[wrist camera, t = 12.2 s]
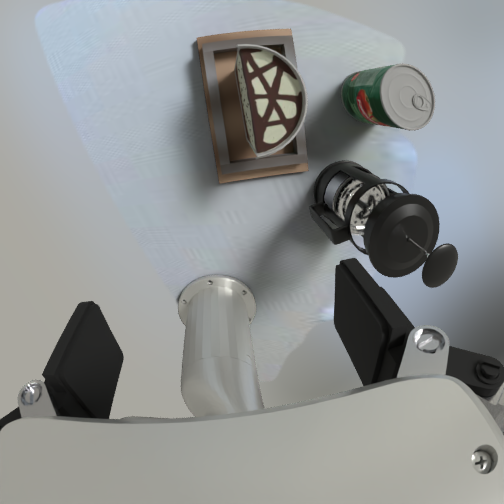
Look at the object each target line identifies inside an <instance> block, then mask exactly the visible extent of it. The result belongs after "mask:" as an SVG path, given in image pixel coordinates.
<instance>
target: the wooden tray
mask: <svg viewBox="0 0 504 504" xmlns="http://www.w3.org/2000/svg"><path fill="white" fill-rule="evenodd" d="M197 43H198V50H199V57H200V64H201V71H202V78H203V84H204V91H205V98H206V104H207V111H208V117H209V123H210V130H211V136H212V142H213V148H214V154H215V160H216V166H217V172H218V178H219V184H220V183H226V182H232V181H239V180H245V179H251V178H258V177H265V176H272V175H280V174H287V173H295V172H304V171H308V158H307V147H306V137H305V127H304V122H303V124H302V127H301V129H300V130H299V132H298V133H297V135H296V136H295V137H294V138H293V140H292V141H291V142H290V143H289V144H287V145H286V146H285V147H284V148H282V149H281V150H279V151H277V152H276V153H274V154H271V155H269V156H266V157H263V158H259V159H256V157H257V156H256V154H255V153H254V151H253V149H252V148H251V146H250V144H249V143H248V141H247V140H246V135H245V129H244V123H243V117H242V111H241V106H240V100H239V94H238V88H237V83H236V77H235V71H234V69H235V62H236V56H237V50H238V47H236V45H240V44H251V45H259V46H263V47H267V48H269V49H272V50H274V51H276V52H278V53H279V54H281V55H283V56H284V57H285V58H286V59H288V60H289V61H290V62H291V63H292V64H293V65H294V66H295V68H296V69H297V63H296V56H295V49H294V43H293V37H292V32H291V29H270V30H254V31H243V32H233V33H225V34H217V35H211V36H204V37H198V38H197Z"/></svg>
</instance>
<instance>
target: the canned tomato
mask: <svg viewBox="0 0 504 504" xmlns="http://www.w3.org/2000/svg"><path fill="white" fill-rule="evenodd" d="M341 100H342V103H343V106H344V108H345V110H346V111H347V113H348V114H349V115H350V116H351V117H352V118H354V119H355V120H357V121H359V122H362V123H369V124H376V125H383V126H389V127H395V128H401V129H405V130H418V129H421V128H423V127H424V126H425V125H427V124H428V123H429V121H430V119H431V118H432V116H433V113H434V108H435V97H434V92H433V88H432V86H431V84H430V82H429V80H428V79H427V77H426V76H425V75H424V74H423V73H422V72H421V71H420V70H419V69H418V68H416V67H414V66H412V65H409V64H396V65H391V66H385V67H380V68H375V69H369V70H364V71H359V72H355V73H353V74H351V75H349V76H348V77H347V78H346V79H345V81H344V83H343V85H342V88H341Z"/></svg>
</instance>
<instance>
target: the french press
mask: <svg viewBox="0 0 504 504" xmlns="http://www.w3.org/2000/svg"><path fill="white" fill-rule="evenodd" d="M340 171H342V172H344V173H345V174H347V175H349V176H350V177H348V178H347V179H346V180H345V181H344V182H343V183H342V184H341V185H340V186H339V188H338V189H337V191H336V193H335V196H334V199H333V205H332V209H331V208H330V207H329V206H328V205H327V204H326V203H325V201H324V195H325V191H326V188H327V186H328V184H329V182H330V181H331V179H332V178H333V177H334V176H335V175H336V174H337V173H339V172H340ZM386 184H395V185H397V186H398V187H399V188H400V189H401V190H402V192H403V193H396V192H394V191H393V190H391V189H389V188H387V186H386ZM314 199H315V203H316V204H314V205H311V206H309V209H310V212H311V216H312V218H313V220H314V221H315V222H316V223H317V224H318V226H319V227H320V228H321V229H322V230H323V232H324V233H325V234H326V235H327V236H328V238H329V239H330V240H331V241H332V243H333V244H335V245H336V244H340V243H342V242H345V241H347V240H350V241H351V243H352V244H353V245H354V246H355V247H356V248H357V249H358V250H359V251H361V252H362V253H364V254H366V255H369V259H370V261H371V263H372V265H373V267H374V268H375V269H376V270H377V271H378V272H379V273H381V274H382V275H384V276H388V277H402V276H405V275H408V274H410V273H411V272H413V271H415V270H416V269H418V268H419V267H420V266H421V265H422V264H423V263H424V262H425V261H426V262H425V264H424V267H423V271H422V279H423V282H424V284H425V285H426V286H428V287H432V288H433V287H438V286H440V285H441V284H443V283H445V282H446V281H447V280H448V279H449V278H450V276H451V275H452V274H453V272H454V270H455V268H456V265H457V260H458V253H457V250H456V248H455V247H454V246H453V245H452V244H443V245H441V246H439V247H437V248H436V249H435V250H433V249H434V247H435V245H436V242H437V239H438V234H439V217H438V214H437V211H436V209H435V207H434V205H433V204H432V203H431V202H430V201H429V200H428V199H426V198H424V197H423V196H420V195H417V194H409V192H408V191H407V190H406V189H405V188H404V187H403V186H401V185H399V184H397V183H395V182H393V181H391V180H387V179H380V178H379V177H377V176H375V175H374V174H372V173H371V172H370V171H369V170H367V169H365V168H363V167H362V166H361V165H359V164H357V163H355V162H352V161H338V162H335V163H332V164H330V165H329V166H328V167H326V168H325V169H324V170H323V171H322V172H321V174H320V175H319V177H318V178H317V181H316V183H315V188H314ZM320 215H323V216H324V217H326V218H327V219H329V220H330V221H331V222H332V223H334V224H335V225H337V226H338V227H339V228H337V229H332V228H331V227H330V226H329V225H328V224H327V223H326V222H325V221H324V220H323V219H322V217H321V216H320ZM351 234H352V235H361V236H362V237H363V238H364V245H365V249H363V248H360V247H359V246H357V245H356V244H355V242H354V241H353V238H352V235H351ZM432 251H433V252H432Z"/></svg>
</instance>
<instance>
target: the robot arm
mask: <svg viewBox="0 0 504 504" xmlns="http://www.w3.org/2000/svg"><path fill="white" fill-rule="evenodd" d="M209 280H211V281H209ZM178 312H179V316H180V319H181V321H182V322H183V324H184V325H185V326H186V330H185V340H184V350H183V362H182V376H181V393H182V396H183V399H184V402H185V404H186V405H187V407H188V409H189V410H190V412H191V413H192V414H193V415H194V416H195V417H190V418H176V419H169V418H153V417H125V418H121V419H109V415H110V411H111V406H112V403H113V398H114V394H115V390H116V386H117V382H118V378H119V374H120V371H121V367H122V363H123V353H122V351H121V349H120V347H119V345H118V343H117V341H116V339H115V338H114V336H113V334H112V332H111V330H110V328H109V326H108V324H107V322H106V320H105V318H104V316H103V314H102V312H101V310H100V307H99V306H98V305H97V304H95V303H94V302H93V301H88V302H81V303H79V304H78V306H77V308H76V309H75V311H74V313H73V315H72V316H71V318H70V320H69V322H68V324H67V326H66V328H65V329H64V331H63V333H62V335H61V337H60V339H59V341H58V343H57V345H56V347H55V349H54V351H53V353H52V355H51V357H50V359H49V361H48V363H47V365H46V367H45V369H44V371H43V374H42V375H43V377H44V378H45V382H42V381H41V380H32V381H30V382H28V383H27V384H26V385H24V386H23V388H22V389H21V390H20V392H19V395H18V405H19V407H18V408H16V409H15V410H13V411H12V412H10V413H9V414H8V415H6V416H5V417H3V418H2V419H0V504H504V367H503V365H502V364H501V363H500V362H499V361H498V360H497V359H495V358H492V357H490V356H485V355H482V354H477V353H474V352H470V351H466V350H462V349H459V348H455V347H451V346H449V339H448V337H447V335H446V334H445V333H444V332H443V331H442V330H440V329H439V328H437V327H434V326H429V325H424V326H419V327H416V328H415V327H414V326H413V325H412V323H411V322H410V321H409V320H408V318H407V317H406V316H405V315H404V313H403V312H402V311H401V310H400V308H399V307H398V306H397V304H396V303H395V302H394V301H393V299H392V298H391V297H390V296H389V295H388V293H387V292H386V291H385V290H384V289H383V288H382V287H379V286H378V284H377V283H376V282H375V281H374V279H373V278H372V277H371V276H370V275H369V273H368V272H367V271H366V270H365V269H364V267H363V266H362V265H361V264H360V263H359V261H358V260H357V259H356V258H351V259H346V260H341V261H340V265H336V269H335V305H334V324H335V328H336V330H337V332H338V334H339V336H340V338H341V340H342V342H343V344H344V346H345V348H346V350H347V352H348V354H349V356H350V358H351V360H352V362H353V365H354V367H355V369H356V371H357V373H358V375H359V377H360V379H361V381H362V383H363V387H360V388H356V389H352V390H348V391H345V392H340V393H337V394H332V395H329V396H324V397H320V398H315V399H311V400H307V401H303V402H297V403H293V404H287V405H282V406H277V407H271V408H266V409H264V405H263V401H262V396H261V391H260V386H259V380H258V374H257V368H256V362H255V356H254V350H253V344H252V338H251V332H250V326H249V325H250V324H251V323H252V321H253V319H254V317H255V313H256V303H255V298H254V296H253V293H252V292H251V290H250V289H249V288H248V287H247V286H246V285H245V284H244V283H243V282H241V281H239V280H238V279H235V278H233V277H230V276H225V275H208V276H204V277H201V278H198V279H196V280H194V281H193V282H191V283H190V284H189V285H188V286H187V287H186V288H185V289H184V290H183V292H182V294H181V296H180V299H179V304H178Z"/></svg>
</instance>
